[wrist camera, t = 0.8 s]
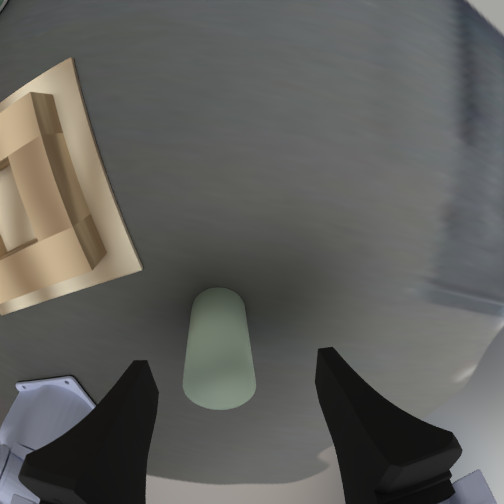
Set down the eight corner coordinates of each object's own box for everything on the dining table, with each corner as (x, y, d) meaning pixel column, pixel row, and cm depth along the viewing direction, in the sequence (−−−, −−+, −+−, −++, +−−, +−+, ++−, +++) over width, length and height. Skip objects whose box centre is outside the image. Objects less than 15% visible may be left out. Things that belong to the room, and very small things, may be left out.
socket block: (3, 313, 22) (-14, 333, 19) (-58, 156, 16) (-82, 162, 13) (143, 267, 21) (131, 290, 18) (73, 58, 15) (50, 48, 12)
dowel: (202, 337, 24) (199, 415, 17) (183, 295, 23) (170, 370, 15) (251, 324, 24) (264, 400, 17) (236, 280, 23) (244, 352, 15)
